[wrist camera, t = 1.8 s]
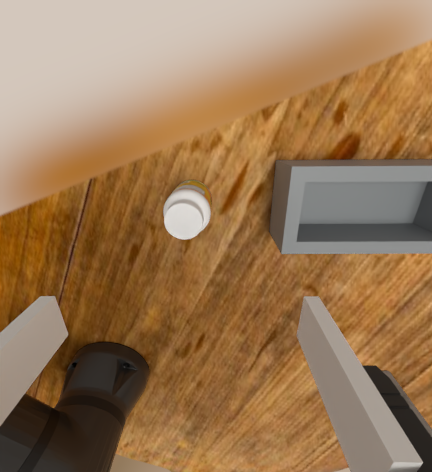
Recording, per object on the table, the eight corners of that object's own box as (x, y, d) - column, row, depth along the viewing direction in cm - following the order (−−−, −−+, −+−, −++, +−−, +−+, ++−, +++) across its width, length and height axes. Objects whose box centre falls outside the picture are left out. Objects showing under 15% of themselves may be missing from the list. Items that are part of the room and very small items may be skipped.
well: (269, 231, 34) (281, 253, 28) (276, 160, 30) (292, 166, 24) (414, 231, 34) (460, 253, 28) (441, 159, 30) (502, 165, 23)
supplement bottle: (204, 221, 34) (200, 252, 25) (169, 209, 33) (151, 236, 24) (217, 187, 31) (217, 207, 23) (179, 173, 31) (164, 188, 22)
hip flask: (405, 410, 51) (509, 562, 33) (386, 415, 52) (478, 566, 34) (388, 368, 46) (502, 522, 28) (368, 375, 47) (466, 529, 28)
